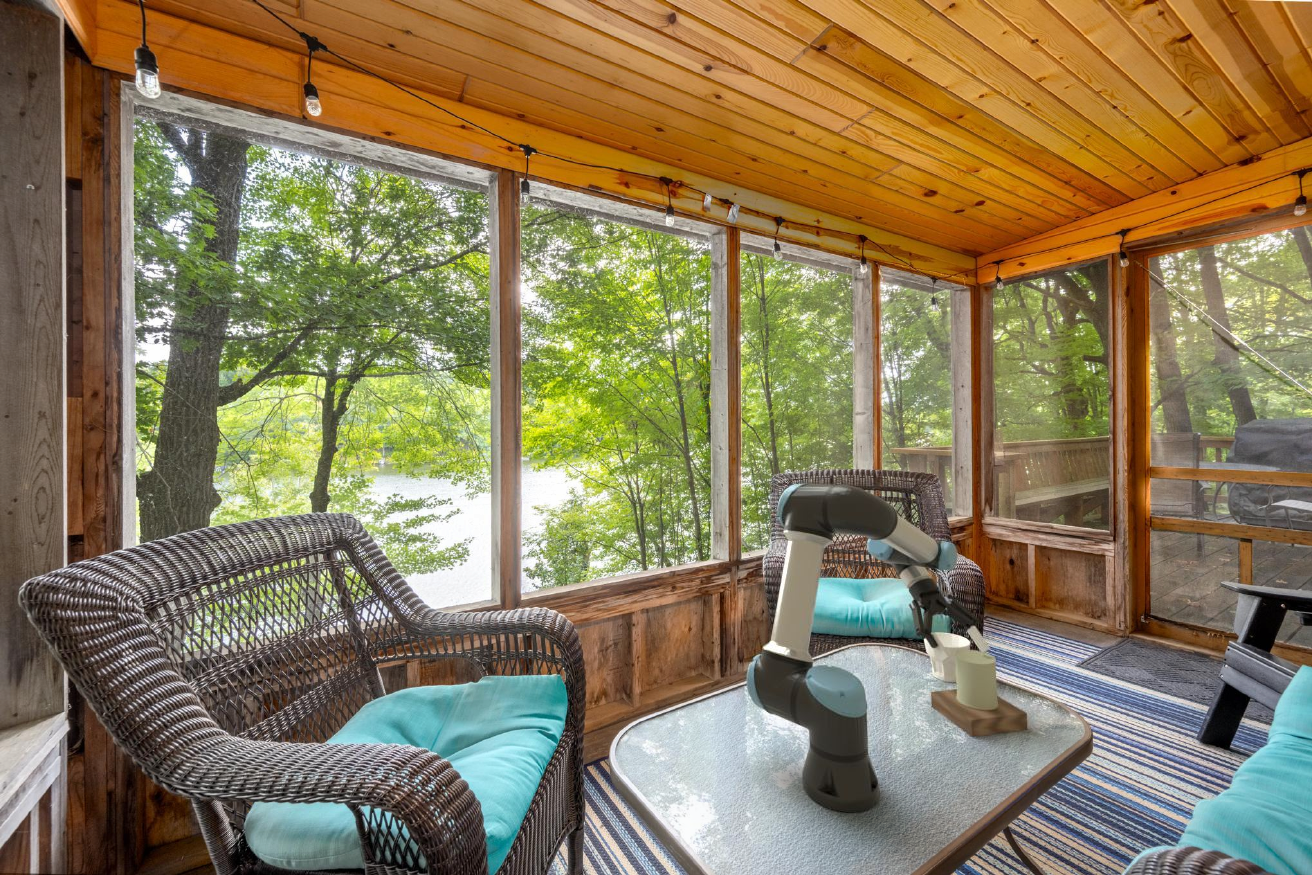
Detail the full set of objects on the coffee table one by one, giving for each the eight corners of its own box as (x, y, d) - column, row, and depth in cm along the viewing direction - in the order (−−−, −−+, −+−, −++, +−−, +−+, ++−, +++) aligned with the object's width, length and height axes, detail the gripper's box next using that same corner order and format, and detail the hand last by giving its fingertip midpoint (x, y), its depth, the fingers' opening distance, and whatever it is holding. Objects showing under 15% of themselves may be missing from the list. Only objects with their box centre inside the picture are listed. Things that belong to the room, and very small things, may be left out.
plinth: (972, 736, 129) (971, 719, 129) (931, 706, 143) (930, 691, 144) (1027, 729, 131) (1026, 713, 131) (982, 700, 146) (981, 686, 146)
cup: (922, 665, 169) (920, 630, 169) (967, 669, 165) (965, 633, 165) (928, 683, 157) (926, 645, 157) (976, 687, 153) (974, 648, 153)
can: (1004, 711, 132) (1002, 662, 132) (963, 709, 134) (961, 661, 134) (989, 693, 141) (987, 648, 141) (951, 692, 143) (949, 647, 143)
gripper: (946, 585, 161) (993, 654, 147) (878, 595, 154) (920, 668, 139) (960, 572, 156) (1011, 641, 142) (890, 581, 149) (936, 655, 134)
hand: (966, 655), depth 140 cm, fingers open, 13 cm apart
